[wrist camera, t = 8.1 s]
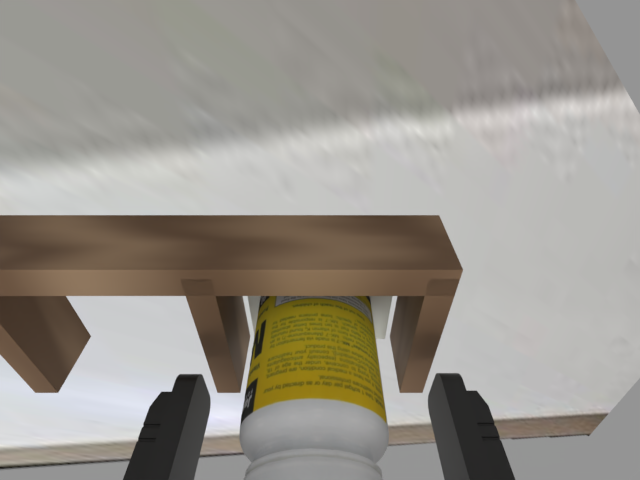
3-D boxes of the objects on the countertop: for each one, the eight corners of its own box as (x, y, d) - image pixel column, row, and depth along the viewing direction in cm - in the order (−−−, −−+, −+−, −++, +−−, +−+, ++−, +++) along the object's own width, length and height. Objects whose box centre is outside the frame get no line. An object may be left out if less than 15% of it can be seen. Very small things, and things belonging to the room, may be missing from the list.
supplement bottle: (250, 260, 15) (197, 509, 8) (367, 249, 15) (407, 501, 8) (273, 333, 18) (247, 558, 11) (371, 325, 18) (402, 553, 11)
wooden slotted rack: (71, 336, 19) (35, 392, 16) (-11, 215, 14) (-78, 269, 12) (409, 336, 19) (422, 392, 16) (439, 215, 14) (463, 269, 12)
